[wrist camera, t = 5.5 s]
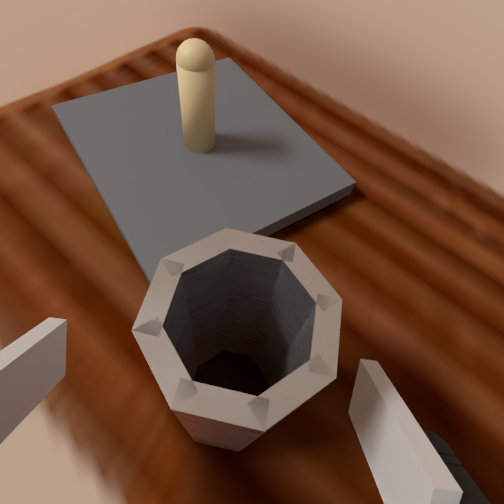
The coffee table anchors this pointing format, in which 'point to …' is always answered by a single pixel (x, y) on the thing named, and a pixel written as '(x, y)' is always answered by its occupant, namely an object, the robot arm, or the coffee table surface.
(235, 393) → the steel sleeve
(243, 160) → the post plate
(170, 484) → the coffee table surface
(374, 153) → the coffee table surface
